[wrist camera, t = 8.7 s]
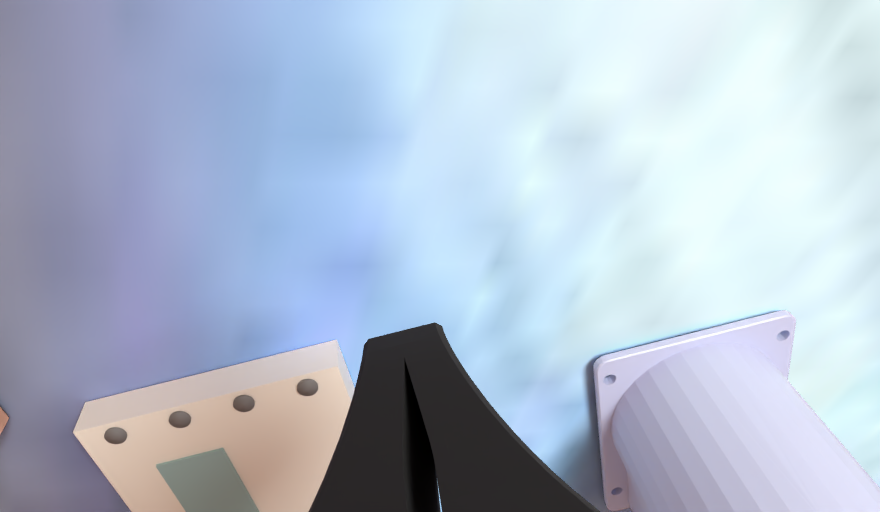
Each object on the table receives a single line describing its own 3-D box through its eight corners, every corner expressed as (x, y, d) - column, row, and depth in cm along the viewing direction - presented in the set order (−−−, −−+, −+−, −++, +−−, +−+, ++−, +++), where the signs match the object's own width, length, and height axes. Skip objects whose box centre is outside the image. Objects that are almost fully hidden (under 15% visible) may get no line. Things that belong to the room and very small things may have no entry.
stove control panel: (408, 532, 30) (416, 596, 27) (212, 583, 30) (202, 652, 27) (336, 339, 23) (338, 400, 21) (85, 402, 23) (56, 471, 21)
